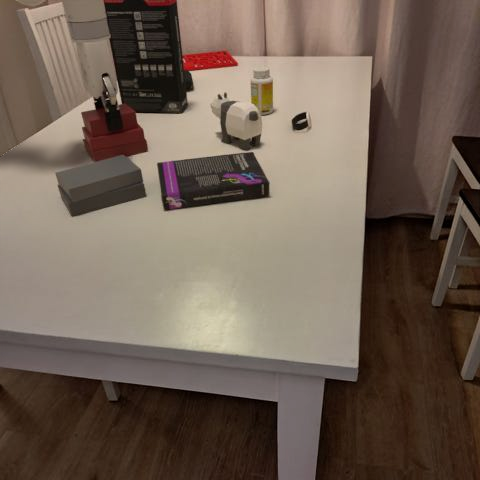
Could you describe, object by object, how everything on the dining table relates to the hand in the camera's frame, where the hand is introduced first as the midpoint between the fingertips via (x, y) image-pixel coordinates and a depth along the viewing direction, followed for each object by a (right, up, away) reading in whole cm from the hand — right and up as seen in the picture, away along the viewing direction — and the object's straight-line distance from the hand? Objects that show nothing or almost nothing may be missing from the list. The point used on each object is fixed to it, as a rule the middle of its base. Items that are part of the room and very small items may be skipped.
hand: (110, 124), depth 101 cm
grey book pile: (+2, -19, -13) cm, 24 cm away
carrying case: (+8, +29, +41) cm, 51 cm away
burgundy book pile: (0, -4, +4) cm, 6 cm away
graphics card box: (+6, +14, +25) cm, 29 cm away
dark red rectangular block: (0, -1, +1) cm, 1 cm away
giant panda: (+27, -2, +5) cm, 28 cm away
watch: (+43, +3, +10) cm, 44 cm away
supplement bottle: (+34, +11, +19) cm, 41 cm away
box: (+23, -18, -12) cm, 31 cm away
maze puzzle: (+16, +48, +63) cm, 81 cm away
